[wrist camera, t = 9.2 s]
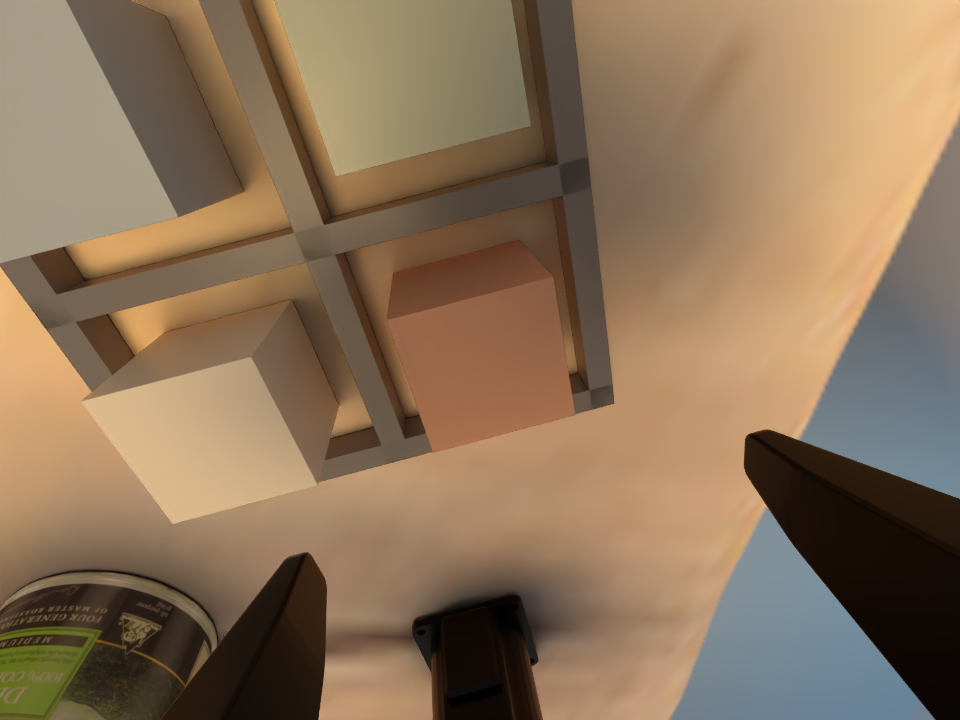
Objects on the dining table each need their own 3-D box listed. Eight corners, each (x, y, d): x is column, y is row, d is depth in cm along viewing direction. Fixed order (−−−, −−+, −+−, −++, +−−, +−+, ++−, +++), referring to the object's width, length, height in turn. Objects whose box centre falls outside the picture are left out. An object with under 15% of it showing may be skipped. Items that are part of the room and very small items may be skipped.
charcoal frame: (601, 386, 21) (651, 454, 17) (198, 493, 21) (141, 590, 17) (531, -200, 13) (596, -379, 8) (-160, -27, 12) (-478, -113, 8)
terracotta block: (539, 351, 20) (575, 414, 16) (428, 381, 20) (432, 452, 16) (518, 239, 18) (553, 276, 14) (393, 272, 18) (386, 320, 14)
